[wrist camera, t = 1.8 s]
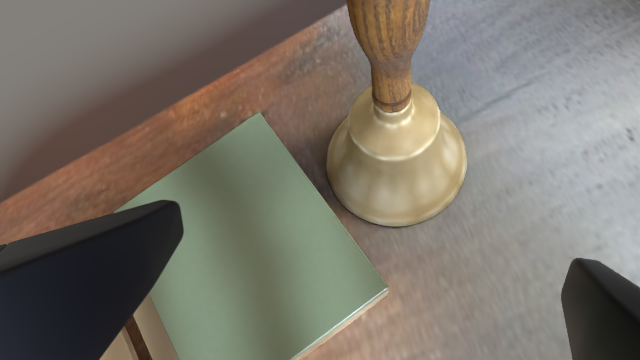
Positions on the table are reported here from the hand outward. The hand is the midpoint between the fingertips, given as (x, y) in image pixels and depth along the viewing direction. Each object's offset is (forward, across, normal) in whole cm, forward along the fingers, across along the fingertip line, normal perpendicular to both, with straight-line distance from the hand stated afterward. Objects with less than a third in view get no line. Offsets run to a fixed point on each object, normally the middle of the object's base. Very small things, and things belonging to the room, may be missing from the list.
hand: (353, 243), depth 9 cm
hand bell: (+15, 0, +4) cm, 16 cm away
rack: (+8, +11, +11) cm, 17 cm away
